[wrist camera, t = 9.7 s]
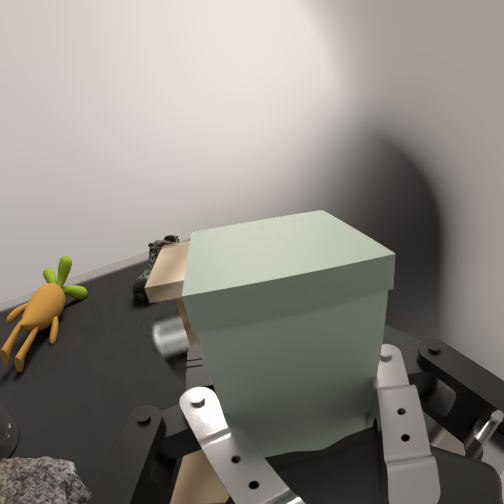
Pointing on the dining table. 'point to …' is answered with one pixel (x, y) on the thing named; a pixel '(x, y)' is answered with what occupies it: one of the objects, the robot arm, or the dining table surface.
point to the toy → (42, 311)
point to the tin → (290, 325)
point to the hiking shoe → (151, 265)
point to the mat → (198, 482)
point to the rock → (41, 482)
